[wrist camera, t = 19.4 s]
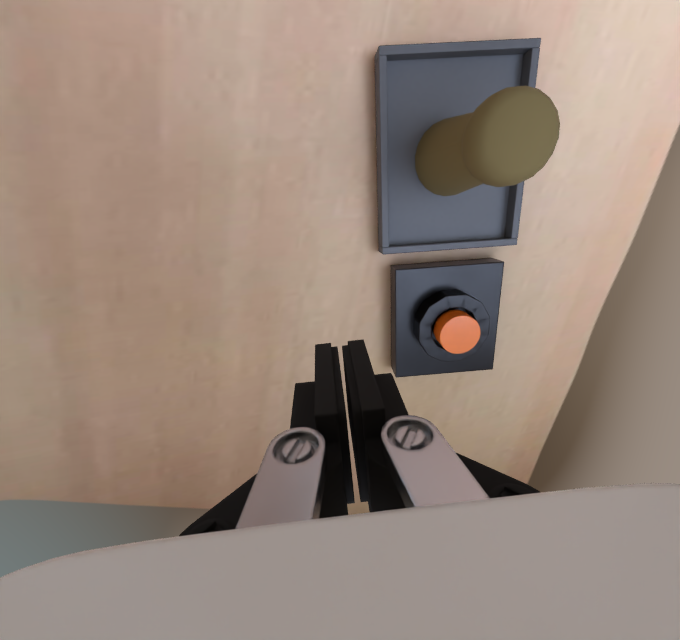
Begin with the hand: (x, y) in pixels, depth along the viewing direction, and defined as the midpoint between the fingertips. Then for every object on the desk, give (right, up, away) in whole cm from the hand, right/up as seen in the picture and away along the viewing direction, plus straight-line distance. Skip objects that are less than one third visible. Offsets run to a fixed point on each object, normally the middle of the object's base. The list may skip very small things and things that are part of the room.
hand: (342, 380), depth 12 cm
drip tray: (+9, +16, +17) cm, 25 cm away
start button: (+10, +1, +19) cm, 22 cm away
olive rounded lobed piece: (+9, +16, +17) cm, 25 cm away
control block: (+10, +3, +22) cm, 25 cm away
